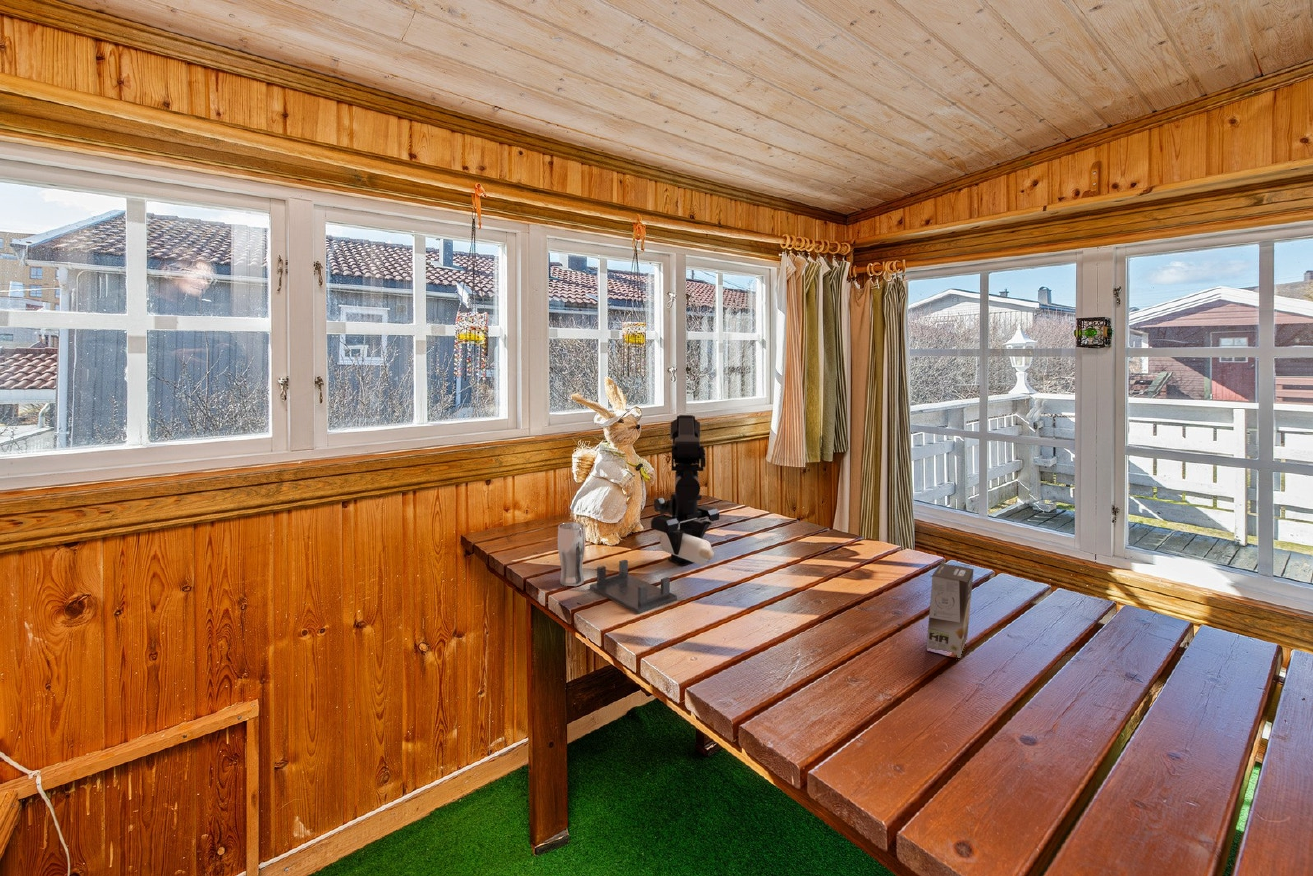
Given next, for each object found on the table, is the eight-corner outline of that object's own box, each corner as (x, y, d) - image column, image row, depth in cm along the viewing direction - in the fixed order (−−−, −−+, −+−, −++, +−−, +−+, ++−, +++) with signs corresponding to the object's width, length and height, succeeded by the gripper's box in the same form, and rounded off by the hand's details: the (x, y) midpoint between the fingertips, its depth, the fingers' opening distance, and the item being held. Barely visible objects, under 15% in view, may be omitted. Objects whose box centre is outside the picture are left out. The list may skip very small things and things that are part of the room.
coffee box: (960, 661, 118) (967, 582, 115) (925, 651, 121) (931, 575, 119) (967, 642, 125) (974, 568, 123) (934, 634, 129) (940, 561, 126)
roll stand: (627, 577, 159) (627, 557, 158) (676, 600, 145) (677, 578, 144) (589, 588, 151) (589, 567, 150) (638, 614, 137) (638, 590, 136)
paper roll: (654, 551, 156) (654, 529, 155) (671, 547, 160) (671, 525, 159) (701, 570, 143) (701, 545, 143) (718, 564, 147) (719, 540, 146)
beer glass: (580, 588, 151) (580, 530, 149) (554, 586, 153) (553, 528, 150) (589, 578, 158) (588, 522, 156) (563, 576, 159) (563, 521, 157)
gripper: (690, 480, 161) (689, 537, 164) (636, 490, 149) (636, 551, 151) (721, 487, 153) (719, 547, 155) (667, 499, 141) (666, 563, 143)
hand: (685, 551), depth 151 cm, fingers closed on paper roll, 6 cm apart
